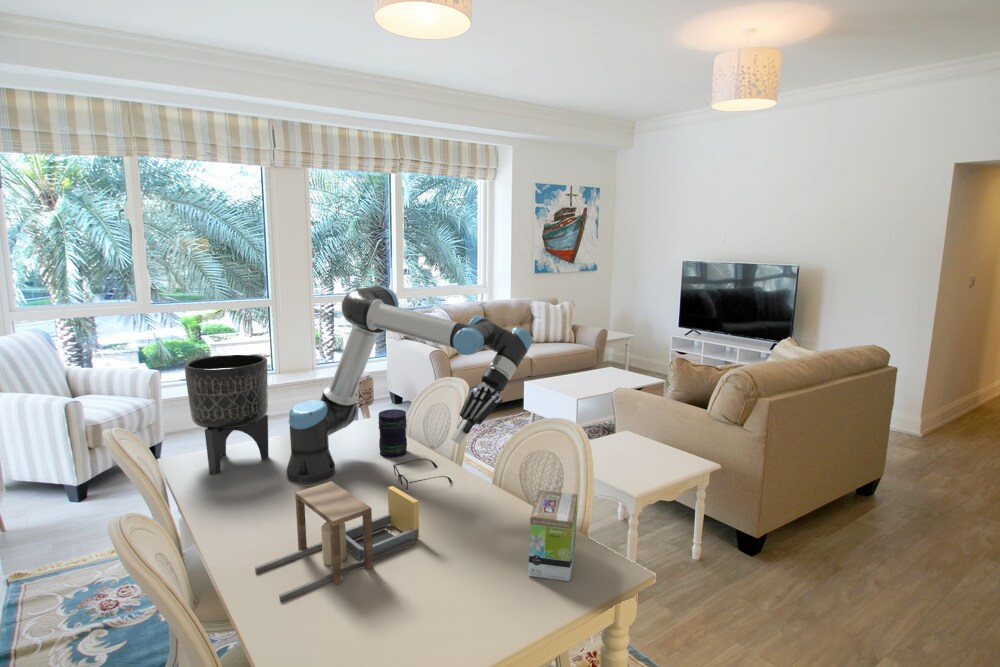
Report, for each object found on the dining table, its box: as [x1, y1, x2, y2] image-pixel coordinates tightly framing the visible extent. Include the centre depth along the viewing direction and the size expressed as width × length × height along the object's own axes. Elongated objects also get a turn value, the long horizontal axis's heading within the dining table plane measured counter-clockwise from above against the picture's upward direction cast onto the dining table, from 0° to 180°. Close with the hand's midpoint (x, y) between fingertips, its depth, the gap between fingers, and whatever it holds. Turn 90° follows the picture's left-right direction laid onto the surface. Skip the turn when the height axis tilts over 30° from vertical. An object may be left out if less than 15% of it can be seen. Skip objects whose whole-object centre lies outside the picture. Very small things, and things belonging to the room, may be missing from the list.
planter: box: [184, 353, 270, 475], centre depth 193 cm, size 25×25×36 cm
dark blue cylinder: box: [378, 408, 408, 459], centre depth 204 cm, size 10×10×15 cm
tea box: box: [527, 490, 578, 582], centre depth 135 cm, size 15×10×15 cm, turn 168°
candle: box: [320, 521, 348, 566], centre depth 135 cm, size 6×6×10 cm
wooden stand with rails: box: [254, 481, 416, 602], centre depth 136 cm, size 20×34×15 cm, turn 133°
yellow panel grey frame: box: [346, 485, 420, 561], centre depth 144 cm, size 12×16×10 cm
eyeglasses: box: [392, 458, 453, 490], centre depth 183 cm, size 16×16×4 cm
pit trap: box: [353, 527, 397, 548], centre depth 144 cm, size 10×12×1 cm
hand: (455, 441), depth 160 cm, fingers closed
